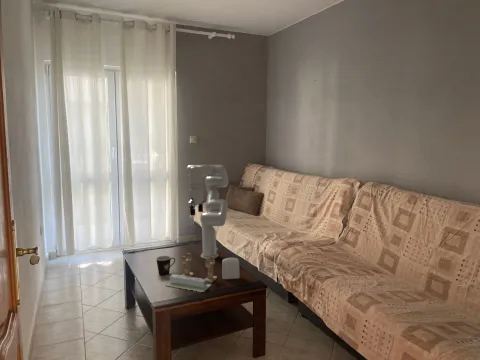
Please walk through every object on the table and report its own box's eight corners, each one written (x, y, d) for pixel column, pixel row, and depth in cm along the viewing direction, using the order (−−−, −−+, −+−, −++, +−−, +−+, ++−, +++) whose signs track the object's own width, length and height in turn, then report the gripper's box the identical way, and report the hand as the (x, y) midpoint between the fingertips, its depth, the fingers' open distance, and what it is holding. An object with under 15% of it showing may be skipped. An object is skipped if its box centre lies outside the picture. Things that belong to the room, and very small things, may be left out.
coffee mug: (157, 277, 215) (156, 261, 214) (156, 272, 223) (156, 256, 222) (176, 275, 218) (176, 259, 217) (175, 270, 226) (174, 254, 225)
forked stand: (186, 273, 221) (185, 252, 219) (217, 278, 213) (216, 256, 211) (180, 277, 214) (179, 256, 212) (211, 282, 206) (211, 260, 204)
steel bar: (173, 280, 208) (173, 273, 208) (207, 286, 200) (207, 279, 199) (169, 283, 205) (169, 276, 204) (203, 289, 196) (203, 282, 196)
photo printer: (222, 279, 210) (222, 259, 209) (222, 277, 214) (221, 257, 213) (239, 279, 211) (239, 258, 210) (239, 276, 215) (238, 256, 214)
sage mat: (175, 279, 212) (175, 278, 211) (211, 285, 202) (211, 284, 202) (165, 285, 202) (165, 284, 202) (202, 292, 193) (202, 291, 193)
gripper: (197, 184, 230) (198, 210, 232) (183, 187, 214) (184, 215, 216) (208, 184, 227) (208, 211, 229) (194, 188, 211) (195, 216, 213)
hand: (196, 213), depth 223 cm, fingers open, 9 cm apart
